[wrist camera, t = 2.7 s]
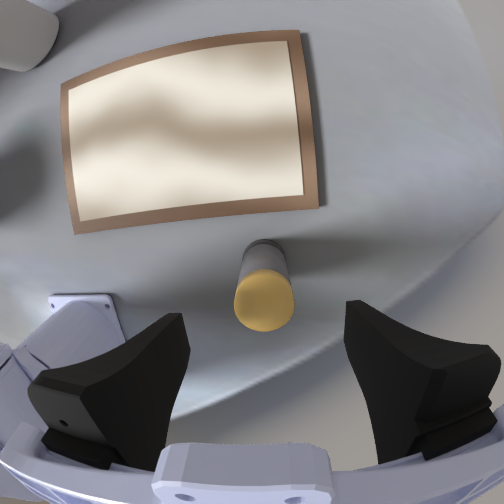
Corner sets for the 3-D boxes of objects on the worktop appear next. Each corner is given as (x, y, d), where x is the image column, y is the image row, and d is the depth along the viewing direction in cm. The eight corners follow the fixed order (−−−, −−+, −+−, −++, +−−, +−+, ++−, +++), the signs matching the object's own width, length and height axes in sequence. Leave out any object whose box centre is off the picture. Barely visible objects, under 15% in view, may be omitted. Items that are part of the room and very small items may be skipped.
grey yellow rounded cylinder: (285, 277, 21) (295, 329, 14) (245, 280, 21) (237, 333, 14) (283, 237, 20) (293, 275, 13) (240, 241, 20) (230, 280, 14)
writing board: (317, 207, 19) (319, 208, 19) (78, 232, 20) (73, 235, 20) (298, 33, 15) (299, 29, 15) (64, 85, 17) (60, 83, 16)
